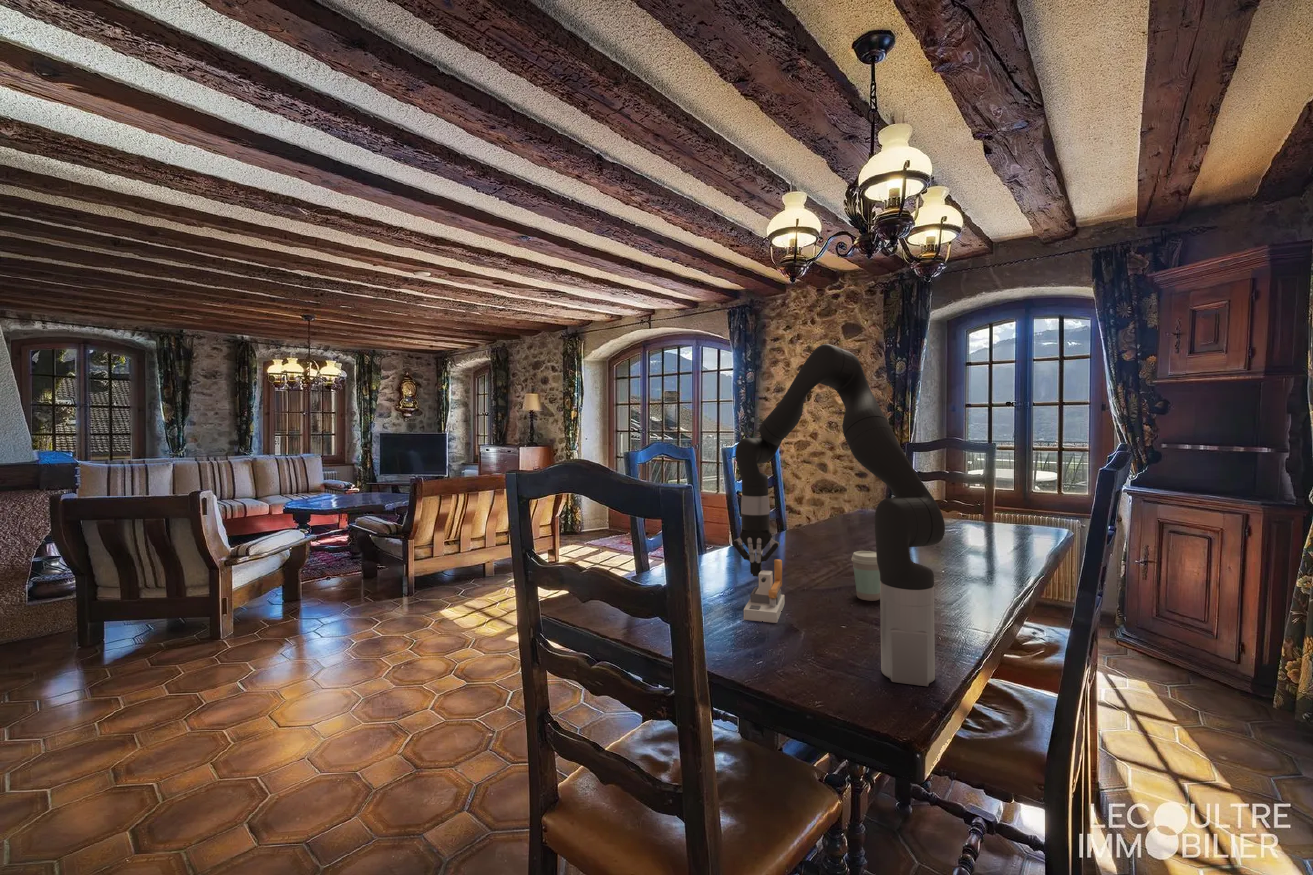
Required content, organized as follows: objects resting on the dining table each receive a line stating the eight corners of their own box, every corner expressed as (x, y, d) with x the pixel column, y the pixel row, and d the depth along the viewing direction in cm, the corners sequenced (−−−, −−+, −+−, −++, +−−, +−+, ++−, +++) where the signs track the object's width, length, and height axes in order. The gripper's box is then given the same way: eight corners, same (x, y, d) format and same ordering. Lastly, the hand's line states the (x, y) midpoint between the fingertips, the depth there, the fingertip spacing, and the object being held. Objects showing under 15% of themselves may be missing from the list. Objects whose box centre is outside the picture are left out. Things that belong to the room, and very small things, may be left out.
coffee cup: (887, 595, 152) (887, 552, 151) (881, 604, 144) (881, 558, 144) (855, 591, 156) (855, 549, 156) (848, 599, 149) (847, 555, 149)
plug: (773, 605, 137) (773, 577, 137) (753, 603, 139) (753, 575, 139) (777, 597, 143) (776, 570, 143) (757, 595, 145) (757, 569, 145)
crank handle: (776, 598, 135) (775, 571, 135) (768, 597, 136) (767, 570, 136) (783, 583, 148) (782, 558, 148) (775, 583, 148) (775, 558, 148)
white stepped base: (776, 622, 132) (776, 604, 132) (743, 619, 134) (743, 601, 134) (784, 604, 146) (784, 587, 146) (754, 601, 148) (754, 584, 148)
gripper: (728, 512, 147) (729, 577, 147) (778, 514, 142) (779, 581, 142) (734, 509, 154) (734, 570, 154) (782, 510, 149) (782, 574, 149)
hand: (756, 575), depth 148 cm, fingers closed
